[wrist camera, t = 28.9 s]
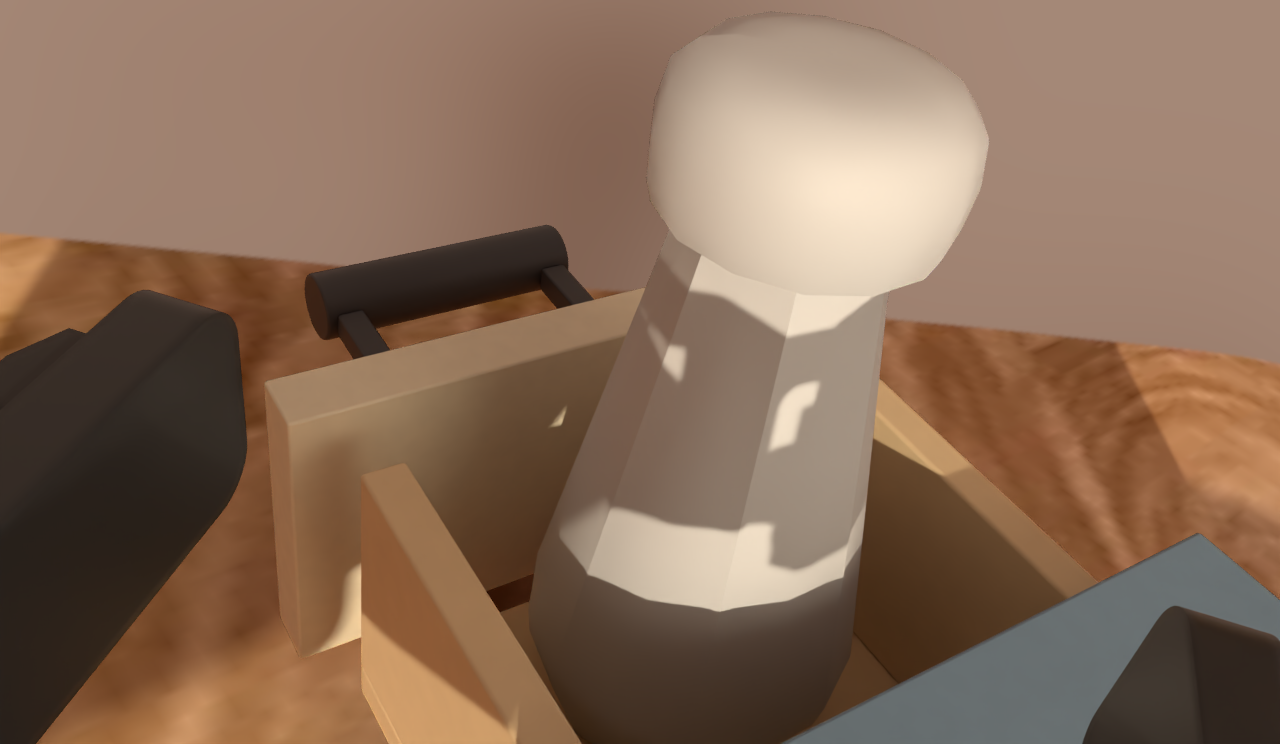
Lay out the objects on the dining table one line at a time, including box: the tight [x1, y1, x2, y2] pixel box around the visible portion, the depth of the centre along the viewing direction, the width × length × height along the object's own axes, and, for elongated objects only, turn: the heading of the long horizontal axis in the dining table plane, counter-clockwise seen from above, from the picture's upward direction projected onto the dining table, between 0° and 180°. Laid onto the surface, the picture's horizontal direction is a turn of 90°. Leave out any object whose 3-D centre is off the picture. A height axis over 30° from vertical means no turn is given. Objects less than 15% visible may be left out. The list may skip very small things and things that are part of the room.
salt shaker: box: [528, 12, 989, 744], centre depth 19 cm, size 6×6×13 cm
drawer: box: [264, 225, 1099, 744], centre depth 22 cm, size 19×11×6 cm, turn 32°
